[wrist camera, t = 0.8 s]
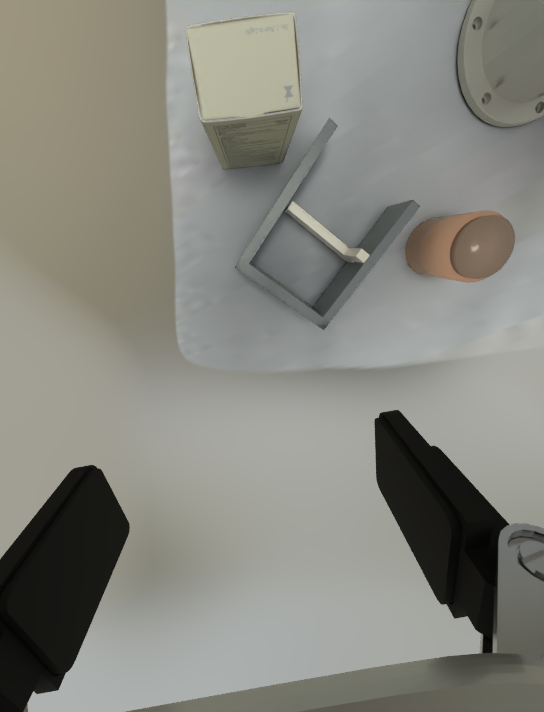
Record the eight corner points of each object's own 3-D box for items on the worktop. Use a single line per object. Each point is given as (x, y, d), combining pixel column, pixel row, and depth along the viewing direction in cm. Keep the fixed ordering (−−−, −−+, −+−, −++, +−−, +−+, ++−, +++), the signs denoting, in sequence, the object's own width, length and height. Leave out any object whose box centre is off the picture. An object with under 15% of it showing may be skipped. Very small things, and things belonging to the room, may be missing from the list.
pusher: (289, 204, 29) (298, 194, 23) (350, 255, 31) (372, 257, 25) (284, 211, 29) (292, 203, 23) (345, 261, 31) (366, 264, 25)
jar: (433, 205, 30) (491, 193, 23) (468, 240, 32) (532, 239, 25) (394, 254, 32) (437, 257, 24) (429, 285, 33) (480, 296, 26)
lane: (315, 139, 27) (329, 117, 23) (393, 212, 30) (420, 206, 25) (237, 264, 31) (234, 267, 26) (313, 318, 34) (323, 330, 29)
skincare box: (278, 109, 26) (300, 5, 15) (283, 165, 28) (306, 110, 16) (211, 116, 26) (182, 18, 15) (220, 172, 28) (199, 122, 16)
